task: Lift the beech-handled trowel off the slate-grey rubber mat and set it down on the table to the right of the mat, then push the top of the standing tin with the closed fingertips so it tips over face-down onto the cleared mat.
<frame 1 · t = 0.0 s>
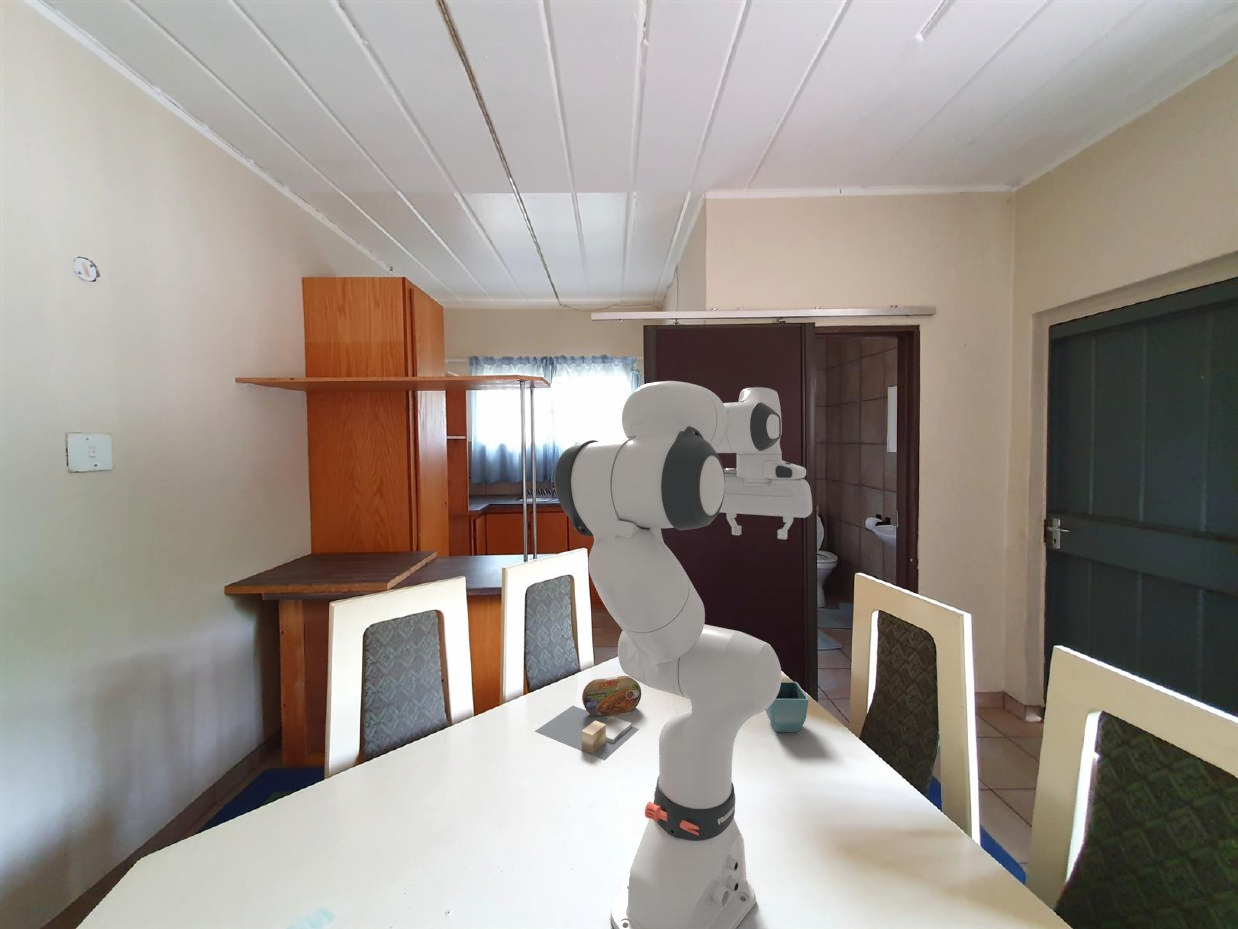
hand: (758, 536, 101), 48 cm above the table, fingers open, 8 cm apart
tin: (611, 712, 125), on the table, touching mat
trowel: (603, 737, 113), resting on mat
flower pot: (784, 728, 118), on the table
mat: (587, 731, 117), on the table
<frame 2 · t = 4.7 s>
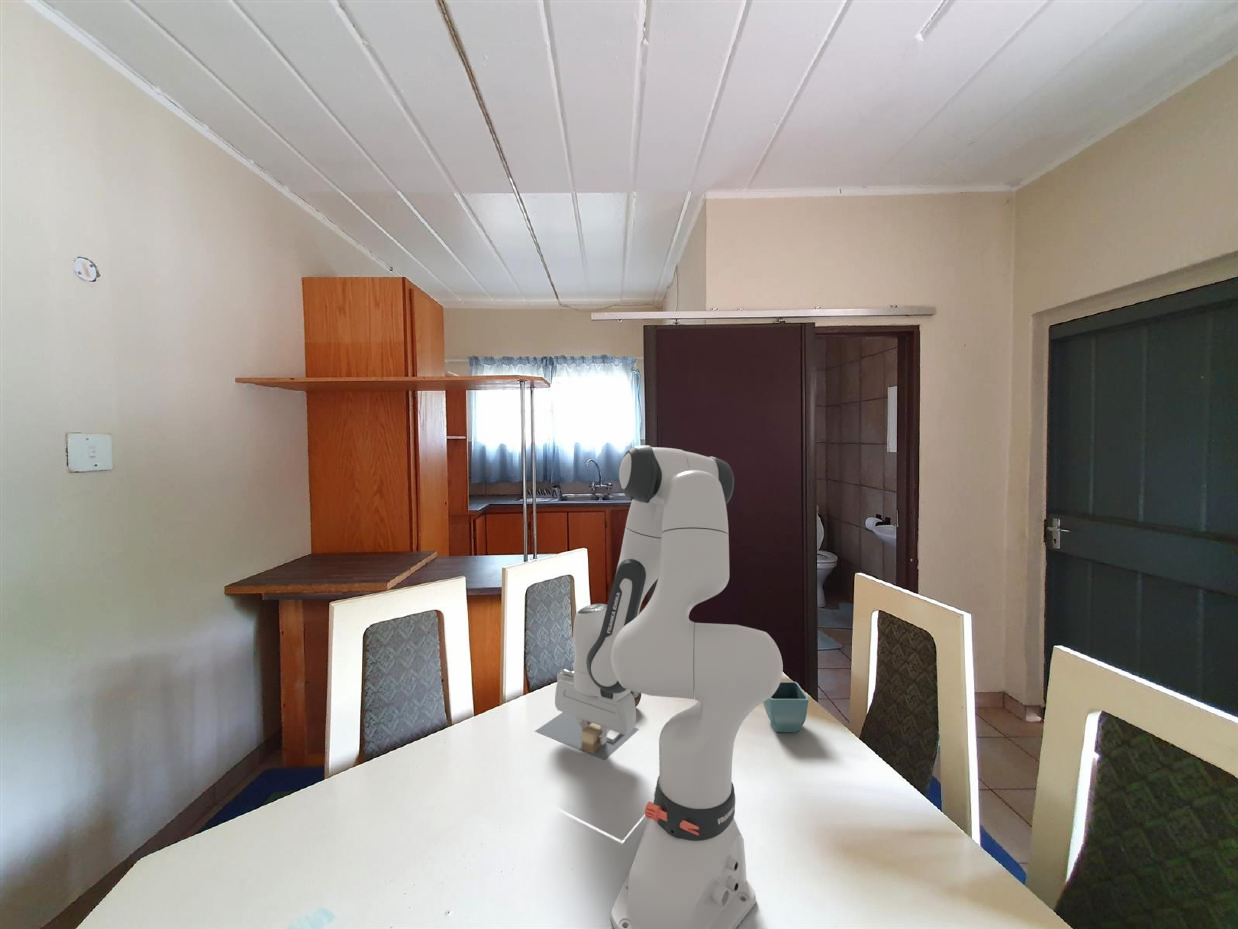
hand: (594, 739, 110), 2 cm above the table, fingers closed on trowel, 3 cm apart
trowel: (603, 737, 113), resting on mat, touching gripper
everything else where it was.
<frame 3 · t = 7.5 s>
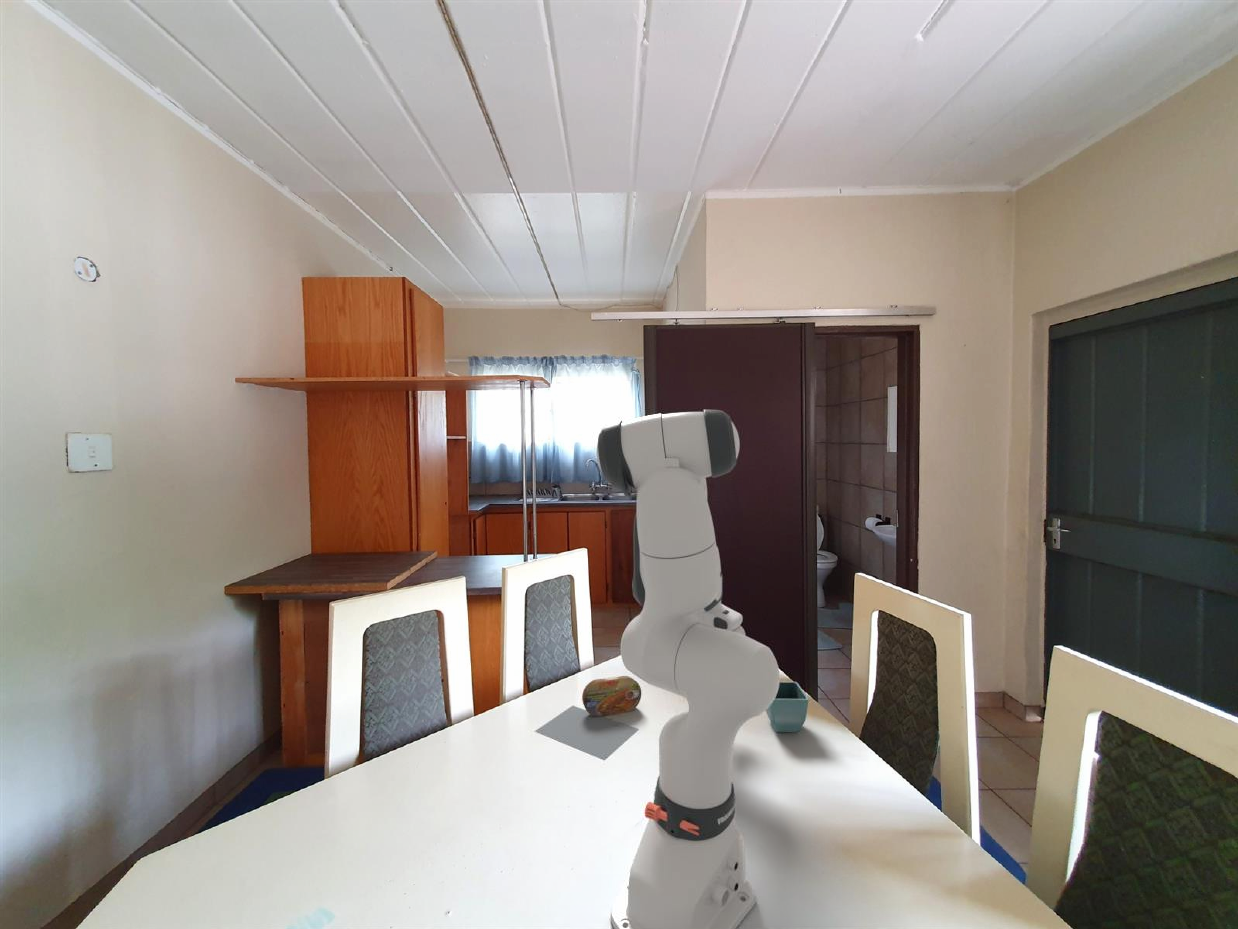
hand: (701, 673, 113), 15 cm above the table, fingers closed on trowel, 3 cm apart
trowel: (708, 672, 116), point 14 cm above the table, touching gripper
everything else where it was.
when the fingers open (3 cm above the table, at t = 10.1 s): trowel drops 2 cm, on the table.
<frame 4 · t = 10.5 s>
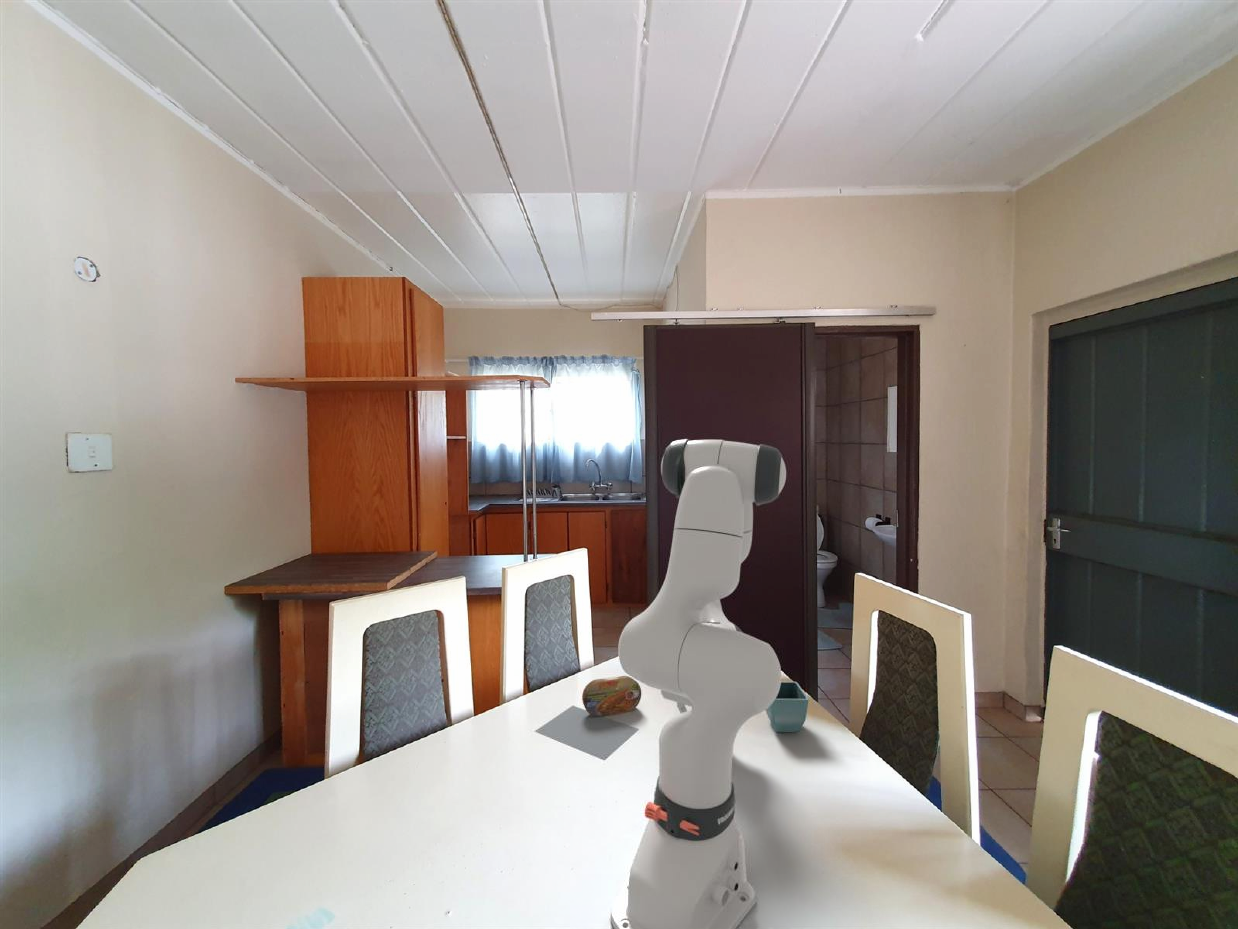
hand: (703, 726, 113), 3 cm above the table, fingers open, 7 cm apart
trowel: (709, 732, 116), on the table
everything else where it was.
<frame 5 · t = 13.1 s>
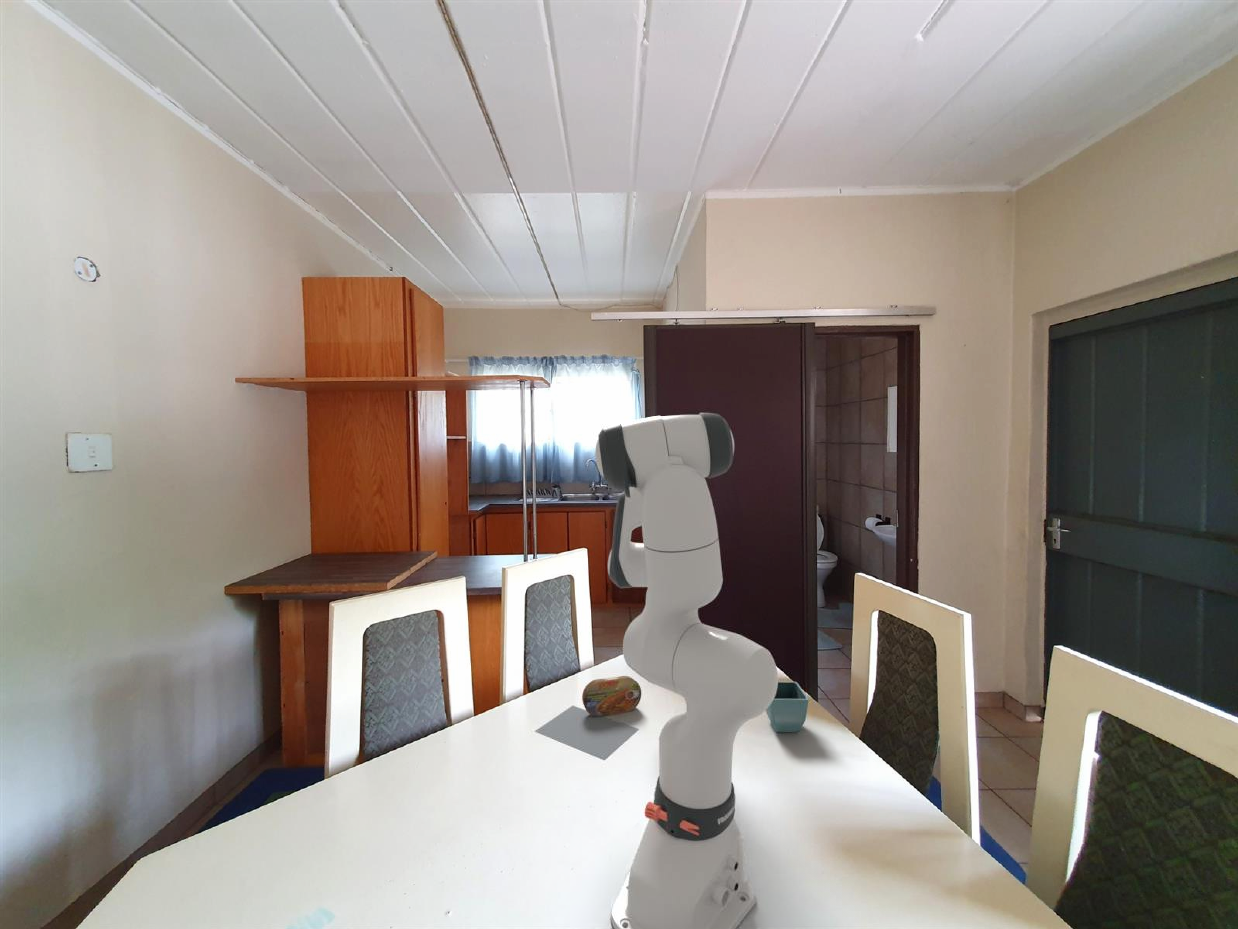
hand: (668, 645, 120), 19 cm above the table, fingers closed
nothing on the table moved.
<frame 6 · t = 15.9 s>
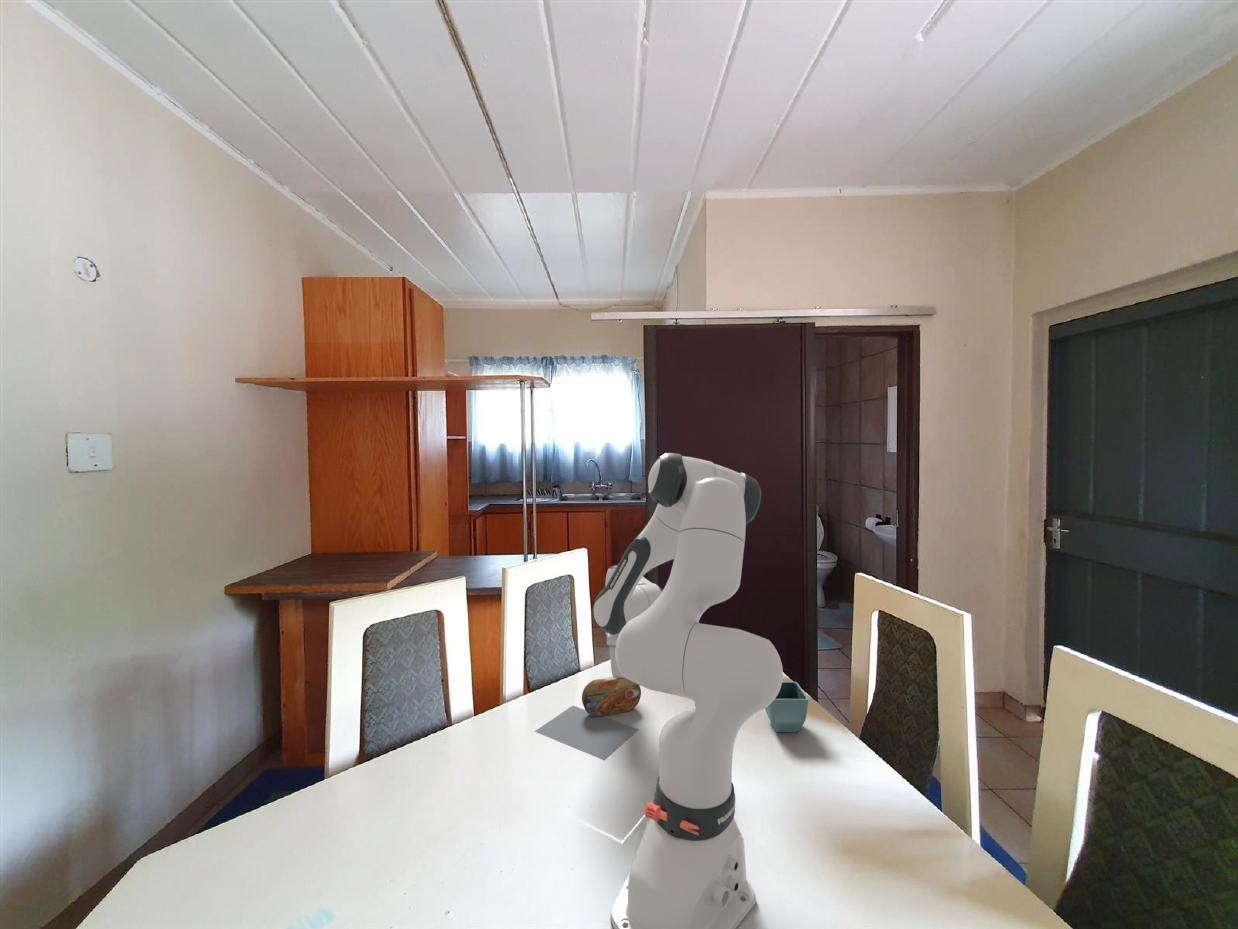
hand: (622, 679, 129), 7 cm above the table, fingers closed
tin: (611, 712, 125), on the table, touching gripper, mat
everything else where it was.
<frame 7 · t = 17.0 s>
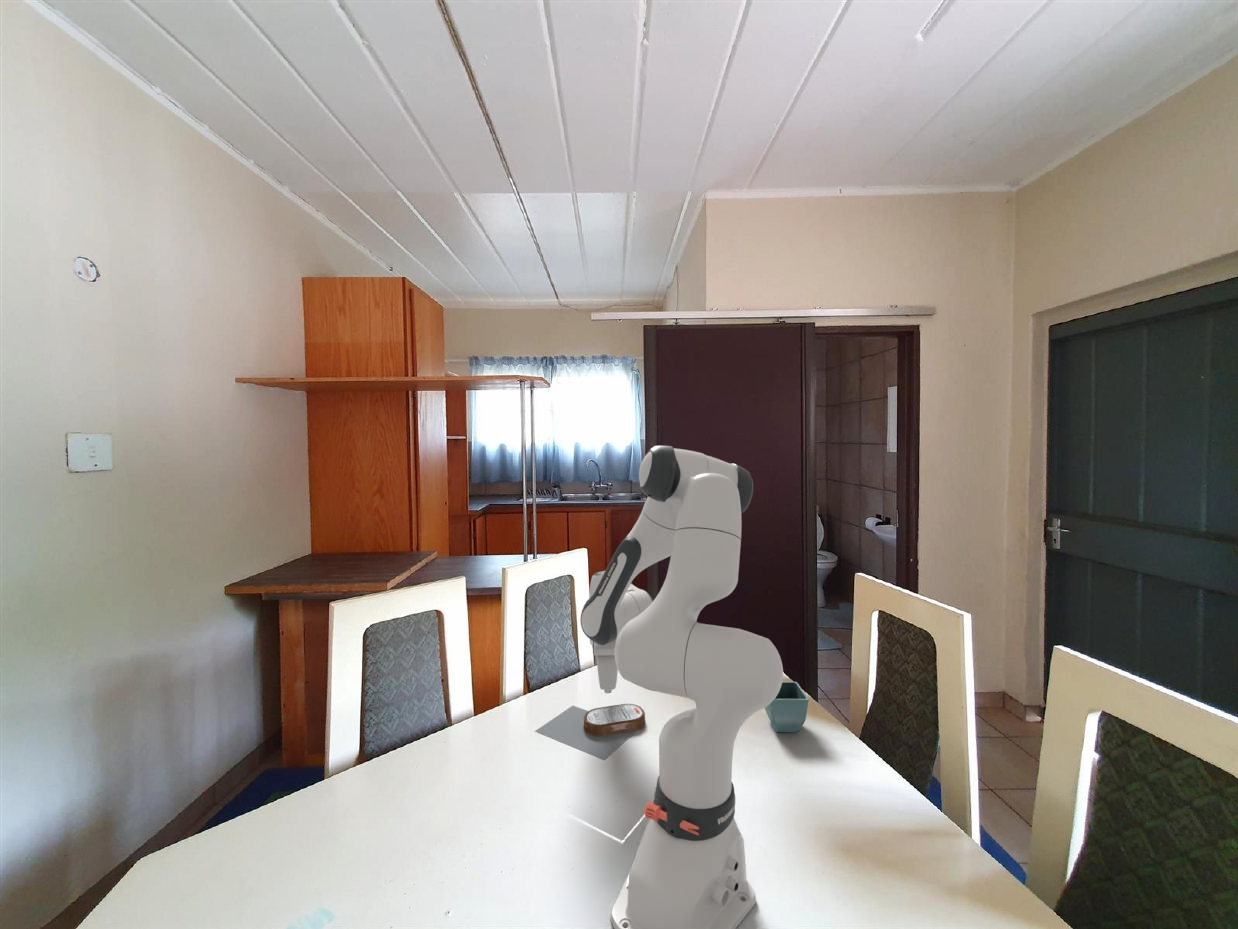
hand: (607, 690, 123), 6 cm above the table, fingers closed
tin: (609, 709, 123), point 2 cm above the table, touching mat
everything else where it was.
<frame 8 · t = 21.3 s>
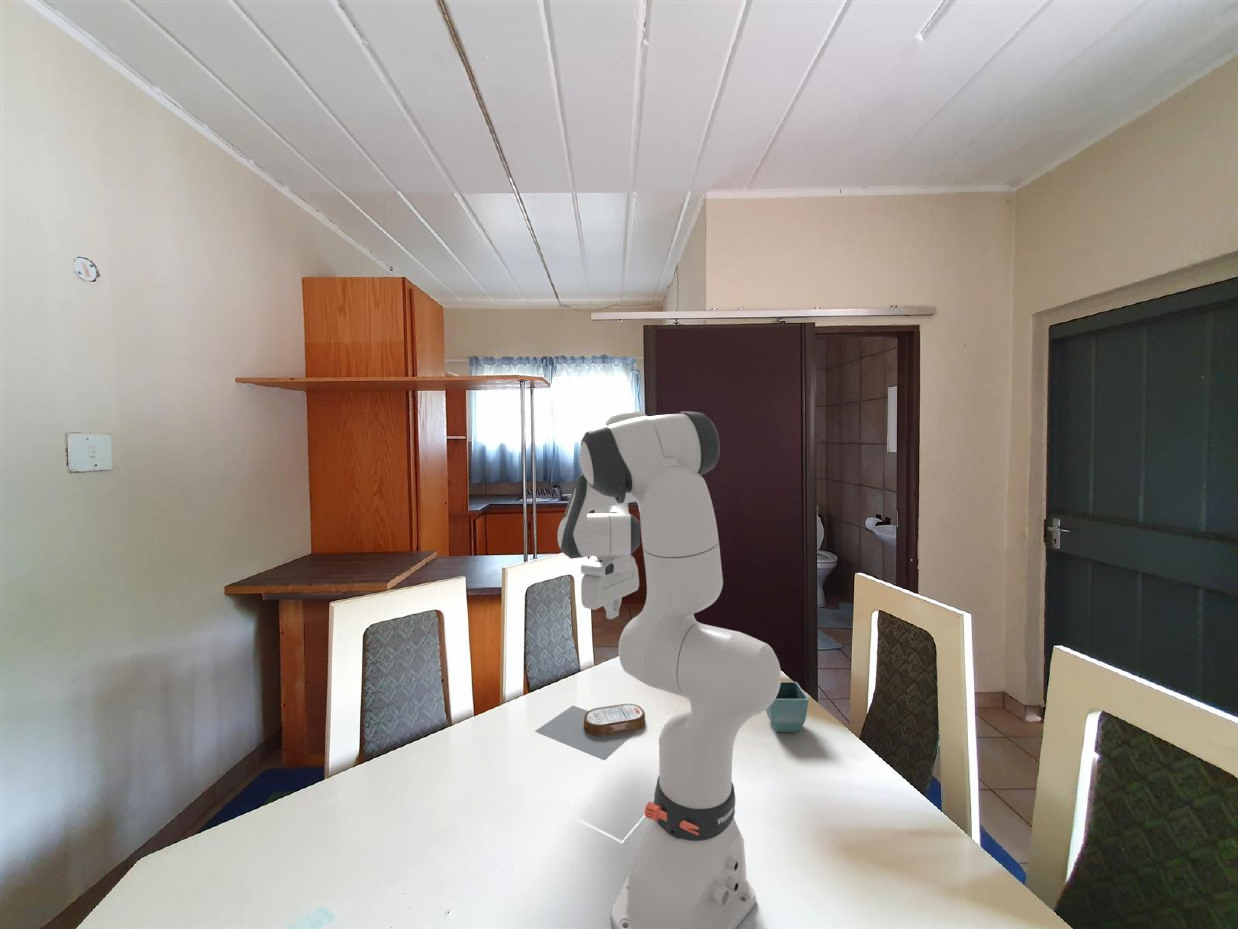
hand: (612, 617, 122), 25 cm above the table, fingers closed
nothing on the table moved.
at the end: tin tilted 94°; tin inside the target area (7.7 cm from its centre), point 2.0 cm above the table; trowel inside the target area (0.4 cm from its centre), on the table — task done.
